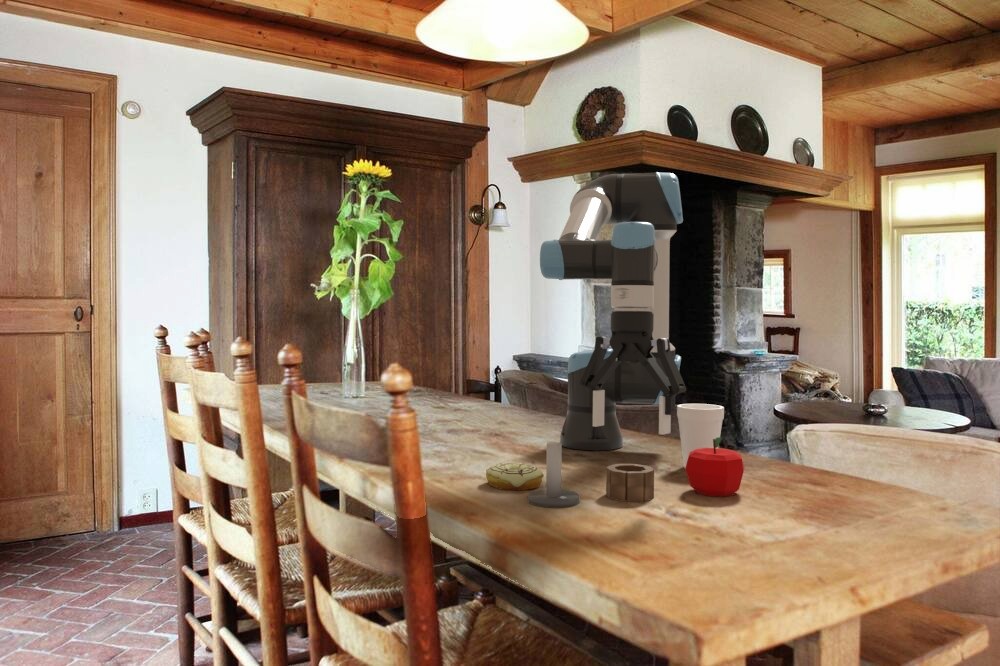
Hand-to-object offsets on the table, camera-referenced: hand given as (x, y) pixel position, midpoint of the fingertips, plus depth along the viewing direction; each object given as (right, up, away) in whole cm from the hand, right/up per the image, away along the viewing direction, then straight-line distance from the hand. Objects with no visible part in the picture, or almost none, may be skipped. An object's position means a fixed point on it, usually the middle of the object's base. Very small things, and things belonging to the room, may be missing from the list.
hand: (630, 429), depth 142 cm
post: (-14, -12, -3) cm, 19 cm away
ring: (0, -12, +1) cm, 12 cm away
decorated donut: (-20, -12, +9) cm, 25 cm away
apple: (+16, -12, +4) cm, 21 cm away
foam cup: (+19, -11, +26) cm, 34 cm away
